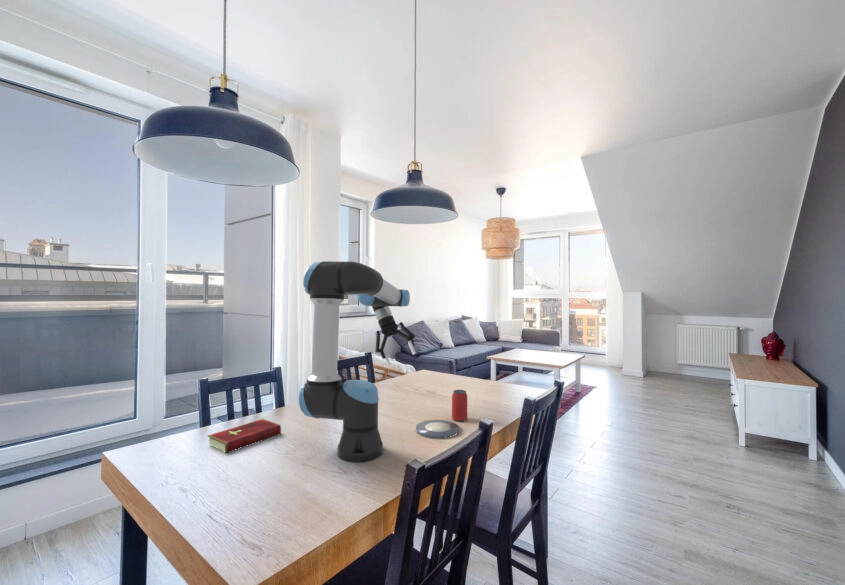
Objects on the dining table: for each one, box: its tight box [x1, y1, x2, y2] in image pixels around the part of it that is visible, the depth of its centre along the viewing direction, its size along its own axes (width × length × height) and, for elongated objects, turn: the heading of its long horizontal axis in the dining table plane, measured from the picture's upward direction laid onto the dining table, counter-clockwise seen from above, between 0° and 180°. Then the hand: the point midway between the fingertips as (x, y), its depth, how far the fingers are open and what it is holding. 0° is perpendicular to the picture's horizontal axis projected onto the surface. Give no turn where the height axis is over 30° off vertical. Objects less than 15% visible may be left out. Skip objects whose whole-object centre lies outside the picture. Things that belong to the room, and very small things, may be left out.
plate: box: [415, 419, 460, 439], centre depth 145 cm, size 17×17×1 cm
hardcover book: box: [207, 418, 282, 454], centre depth 135 cm, size 12×21×4 cm, turn 146°
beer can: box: [451, 389, 468, 422], centre depth 158 cm, size 7×7×12 cm
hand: (402, 359), depth 172 cm, fingers open, 13 cm apart
